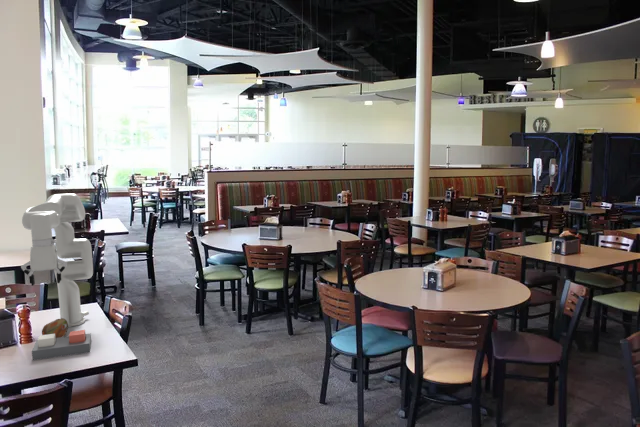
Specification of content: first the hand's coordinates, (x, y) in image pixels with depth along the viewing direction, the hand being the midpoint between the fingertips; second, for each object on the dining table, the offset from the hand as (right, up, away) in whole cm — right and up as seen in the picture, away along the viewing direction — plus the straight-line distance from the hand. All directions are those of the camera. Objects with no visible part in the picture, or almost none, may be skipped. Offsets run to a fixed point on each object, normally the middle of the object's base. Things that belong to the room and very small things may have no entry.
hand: (46, 283), depth 227 cm
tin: (-8, -29, +25) cm, 39 cm away
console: (+3, -30, +9) cm, 31 cm away
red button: (+9, -27, +10) cm, 30 cm away
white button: (-3, -27, +6) cm, 28 cm away
